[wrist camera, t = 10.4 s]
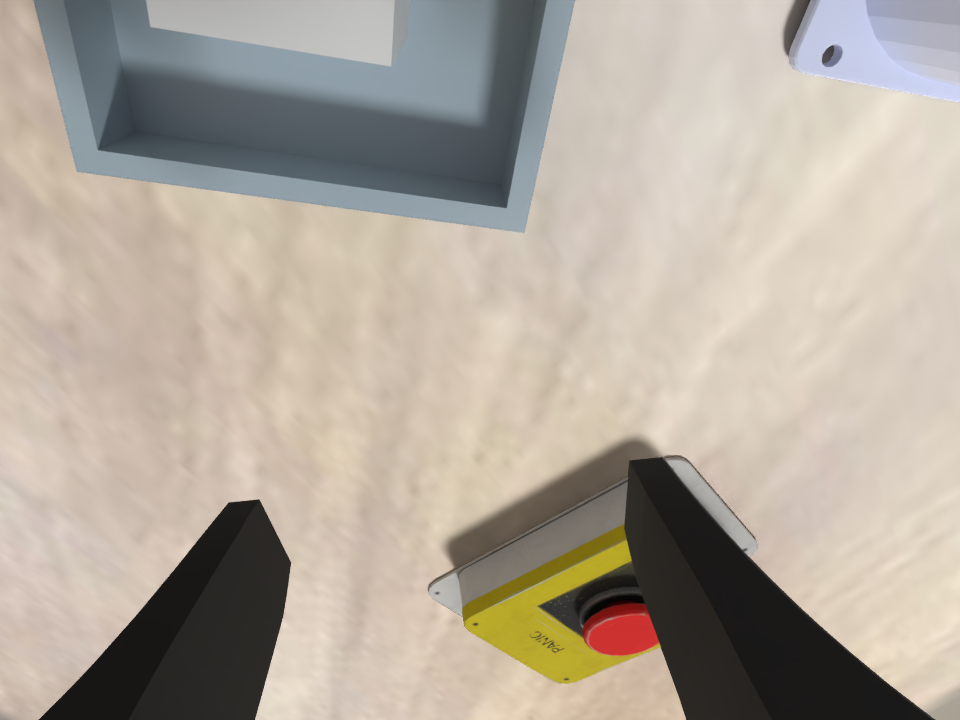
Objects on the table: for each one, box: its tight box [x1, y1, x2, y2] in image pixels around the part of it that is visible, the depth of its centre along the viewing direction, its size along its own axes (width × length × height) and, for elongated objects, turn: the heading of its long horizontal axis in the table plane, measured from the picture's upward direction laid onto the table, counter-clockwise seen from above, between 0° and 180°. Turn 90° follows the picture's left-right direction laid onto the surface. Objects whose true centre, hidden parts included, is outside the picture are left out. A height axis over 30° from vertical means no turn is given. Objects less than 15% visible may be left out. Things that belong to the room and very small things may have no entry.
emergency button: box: [429, 457, 758, 684], centre depth 27 cm, size 9×4×15 cm
